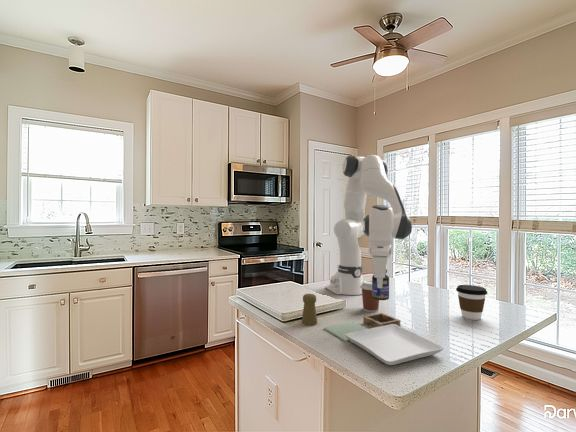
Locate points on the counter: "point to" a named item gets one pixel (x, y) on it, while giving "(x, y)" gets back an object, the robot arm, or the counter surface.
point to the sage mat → (344, 329)
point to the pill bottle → (380, 289)
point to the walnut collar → (373, 320)
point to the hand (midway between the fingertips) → (380, 285)
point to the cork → (309, 310)
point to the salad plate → (393, 344)
